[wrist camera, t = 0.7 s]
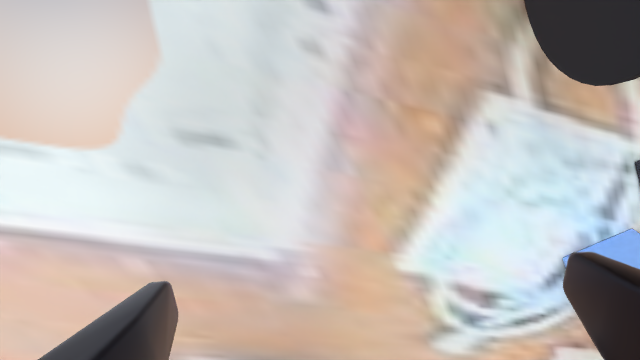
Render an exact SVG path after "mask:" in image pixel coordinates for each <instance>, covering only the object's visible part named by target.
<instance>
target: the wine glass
mask: <svg viewBox="0 0 640 360" xmlns="http://www.w3.org/2000/svg"><path fill="white" fill-rule="evenodd" d="M524 1H525V7H526V10H527V14H528V18H529V21H530V24H531V27H532V29H533V32H534V34H535V37H536V39H537V41H538V43H539V45H540V46H541V48H542V50H543V51H544V53H545V54H546V56H547V57H548V59H549V60H550V61H551V62H552V63H553V64H554V65H555V66H556V67H557V68H558V69H559V70H560V71H561V72H563V73H564V74H565V75H567V76H568V77H570V78H572V79H574V80H576V81H579V82H581V83H584V84H589V85H594V86H602V85H613V84H618V83H622V82H626V81H630V80H634V79H636V78H639V77H640V0H524Z"/></svg>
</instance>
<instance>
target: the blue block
mask: <svg viewBox="0 0 640 360" xmlns="http://www.w3.org/2000/svg"><path fill="white" fill-rule="evenodd" d="M588 251H589V252H594V253H597V254H600V255H603V256H605V257H608V258H611V259H613V260H616V261H619V262H621V263H624V264H627V265H630V266H632V267H635V268H638V269H640V233H638V232H637V231H635V230H634V229H630V230H627V231H625V232H623V233H620V234H618V235H616V236H613V237H611V238H609V239H606V240H604V241H602V242H599V243H597V244H595V245H592V246H590V247H588V248H585V249H583V250H580V251H578V252H588ZM569 256H570V255H569ZM569 256H566V257H564V258H563V261H564V264H565V267H566V266H567V261H568V258H569Z"/></svg>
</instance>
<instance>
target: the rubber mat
mask: <svg viewBox="0 0 640 360" xmlns="http://www.w3.org/2000/svg"><path fill="white" fill-rule="evenodd" d="M635 165H636V169H637V173H638V178H639V182H640V160H639V161H637V162H635Z"/></svg>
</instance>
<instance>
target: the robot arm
mask: <svg viewBox="0 0 640 360" xmlns="http://www.w3.org/2000/svg"><path fill="white" fill-rule="evenodd" d="M563 288H564V292H565V294H566V296H567V298H568V300H569V301H570V303H571V305H572V306H573V308H574V310H575V312H576V313H577V315H578V317H579V319H580V320H581V322H582V324H583V325H584V327H585V329H586V331H587V332H588V334H589V336H590V337H591V339H592V341H593V343H594V344H595V346H596V348H597V349H598V351H599V352H600V354H601V356H602V357H603V359H604V360H640V269H638V268H635V267H632V266H630V265H627V264H624V263H621V262H619V261H616V260H613V259H611V258H608V257H605V256H603V255H600V254H597V253H594V252H589V251H588V252H574V253H572V254H571V255H570V256H569V258H568V261H567V266H566V271H565V275H564V280H563ZM177 322H178V309H177V305H176V301H175V297H174V293H173V289H172V286H171V284H170V283H169V282H167V281H163V282H151V283H149V284H147V285H146V286H144V287H143V288H141V289H140V290H139V291H137V292H136V293H134V294H133V295H131V296H130V297H128V298H127V299H125V300H124V301H123V302H121V303H120V304H118V305H117V306H115V307H114V308H112V309H111V310H109V311H108V312H107V313H105V314H104V315H102V316H101V317H99V318H98V319H96V320H95V321H93V322H92V323H91V324H89V325H88V326H86V327H85V328H83V329H82V330H80V331H79V332H77V333H76V334H75V335H73V336H72V337H70V338H69V339H67V340H66V341H64V342H63V343H61V344H60V345H59V346H57V347H56V348H54V349H53V350H51V351H50V352H48V353H47V354H45V355H44V356H43V357H41V358H40V359H38V360H169V356H170V352H171V347H172V343H173V339H174V335H175V331H176V326H177Z"/></svg>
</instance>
